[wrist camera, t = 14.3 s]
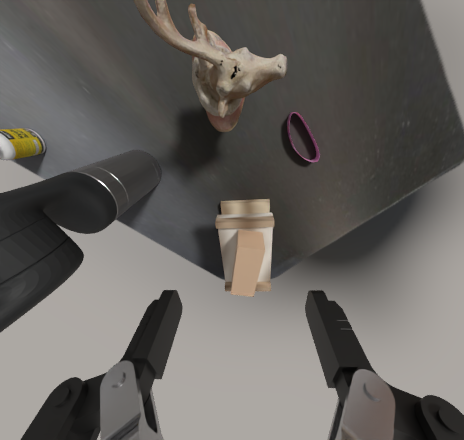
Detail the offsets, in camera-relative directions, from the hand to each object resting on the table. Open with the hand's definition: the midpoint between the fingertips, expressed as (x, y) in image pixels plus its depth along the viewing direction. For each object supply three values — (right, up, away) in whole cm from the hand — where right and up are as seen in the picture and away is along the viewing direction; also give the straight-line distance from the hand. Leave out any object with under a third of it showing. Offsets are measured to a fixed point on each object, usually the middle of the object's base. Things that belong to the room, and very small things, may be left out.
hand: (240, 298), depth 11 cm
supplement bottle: (-45, +23, +30) cm, 59 cm away
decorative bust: (0, +29, +23) cm, 37 cm away
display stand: (+3, +5, +37) cm, 37 cm away
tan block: (+2, -2, +25) cm, 25 cm away
